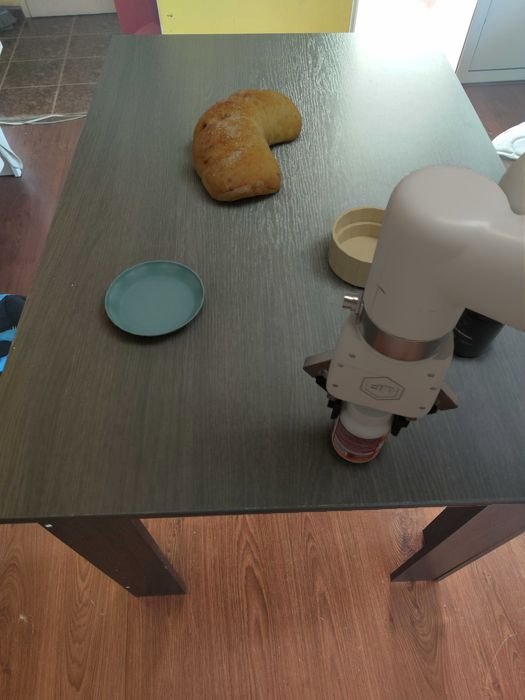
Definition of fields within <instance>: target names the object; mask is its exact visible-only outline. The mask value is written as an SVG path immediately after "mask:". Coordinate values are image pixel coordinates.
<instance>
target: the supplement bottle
mask: <svg viewBox="0 0 525 700" xmlns="http://www.w3.org/2000/svg"><path fill="white" fill-rule="evenodd" d="M505 326H506V325H505V324H503V323H501V322H498V321H496V320H494V319H491V318H489V317H487V316H484V315H482V314H480V313H477V312H475V311H473V310H470V309H468V308H465V309H464V311H463V313H462V315H461V316H460V318H459V320H458V322H457V324H456V326H455V327H454V329H453V336H454V339H453V341H454V350H453V354H456V355H459V356H462V357H468V358H470V357H471V358H472V357H478V356H480V355H482V354H484V353H485V352H487V350H488V349H489V348H490V346H491V345H492V343H493V342H494V341H495V340H496V338H497V337H498V335H499V334H500V333H501V331H502V330H503V328H504V327H505Z"/></svg>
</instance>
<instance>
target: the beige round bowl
mask: <svg viewBox="0 0 525 700" xmlns="http://www.w3.org/2000/svg"><path fill="white" fill-rule="evenodd" d="M385 211H386V207H382V206H381V207H380V206H375V205H374V206H373V205H371V206H368V205H367V206H363V205H362V206H358V207H353V208H350V209H348V210H346V211H344V212H342V213H340V214H339V215H338V217H337V218H336V219H335V220H334V221H333V224H332V227H331V232H330V237H329V243H328V244H329V245H328V251H327V259H328V265H329V267H330V268H331V270H332V272H334V274H336V276H338V277H339V278H340V279H341V280H342V281H344V282H346V283H348V284H351V285H353V286H355V287H358V288H359V287H360V288H364V289H365V286H366V282H367V278H368V275H369V271H370V267H371V264H372V260H373V256H374V252H375V249H376V245H377V241H378V237H379V233H380V230H381V226H382V222H383V218H384V215H385Z"/></svg>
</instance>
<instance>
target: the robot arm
mask: <svg viewBox="0 0 525 700" xmlns="http://www.w3.org/2000/svg"><path fill="white" fill-rule="evenodd" d="M385 208H386V211H385V215H384V218H383V222H382V226H381V230H380V233H379V237H378V241H377V245H376V249H375V252H374V256H373V260H372V264H371V267H370V271H369V275H368V278H367V282H366V286H365V288H364V290H360V291H359V292H356V291H355V292H354V293H352V292H349V291H345V293H344V298H343V301H342V305H341V308H343V309H347V310H349V311H350V313H349V314H348V316H347V318H346V320H345V321H344V323H343V325H342V327H341V330H340V332H339V335H338V337H337V340H336V343H335V346H334V349H330V350H327V351H323V352H320V353H317V354H314V355H310V356H307V357H305V359H304V362H303V366H302V370H303V371H304V372H305V373H306V374H307V375H308V376H309V377H311V378H312V379H315V381H314V382H315V384H316V385H318V386H319V387H320V388H321V389H322V390H324V391H325V393H326V398H327V399H328V401H327V404H326V408H328V409H332V411H331V415H330V418H329V419H330V420H334V421H336V419H337V417H338V413H339V410H340V407H341V403H342V400H345V401H348V402H351V403H355V404H359V405H363V406H366V407H370V408H374V409H378V410H381V411H385V412H389V413H393V414H395V418H394V423H393V425H392V427H391V429H390V435H391V436H393V437H396V438H397V437H398V436H399V434H400V432H401V430H402V428H404V429H407V428H408V426H409V425H410V423H411V422H416V421H417V420H418V419H419V418H423V417H425V416H427V415H435V414H437V412H438V411H440V412H442V411H450V410H455V409H456V410H457V409H458V407H459V397H460V396H459V394H458V393H457V392H456V391H455V390H454V389H453V388H452V387H451V386H450V385H449V384H448V383H447V381H445V380H446V377H447V374H448V372H449V369H450V366H451V362H452V360H453V355H454V352H453V350H454V341H453V339H454V336H453V329H454V327H455V326H456V324H457V322H458V320H459V318H460V316H461V315H462V313H463V311H464V309H465V308H468V309H470V310H473V311H475V312H477V313H480V314H482V315H484V316H487V317H489V318H491V319H494V320H496V321H498V322H501V323H503V324H505V326H507V327H509V328H513V329H514V330H516V331H517V330H518V331H519V332H523V333H525V151H524V152H522V154H521V155H520V156H519V157H518V158H517V159H515V161H514V162H513V163H511V165H509V167H508V168H507V170H506V171H505V172H504V173H503V174H502V175H501V178H500V180H499V182H498V183H496V181H494V180H492V179H491V178H490V177H488V176H487V175H485V174H483V173H481V172H479V171H477V170H475V169H472V168H468V167H465V166H460V165H455V164H434V165H429V166H427V165H426V166H423V167H420V168H417V169H415V170H412V171H411V172H410V173H408V174H407V175H405V176H404V177H403V178H401V179H400V181H398V183H397V184H396V185H395V186H394V188H393V190H392V191H391V194H390V196H389V198H388V201H387V205H386V207H385Z"/></svg>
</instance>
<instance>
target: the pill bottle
mask: <svg viewBox="0 0 525 700" xmlns="http://www.w3.org/2000/svg"><path fill="white" fill-rule="evenodd" d="M394 418H395V414H393V413H389V412H385V411H381V410H378V409H374V408H370V407H366V406H363V405H359V404H355V403H351V402H348V401H345V400H342V403H341V407H340V410H339V413H338V417H337V419H335V422H334V424H333V429H332V433H331V443H332V446H333V448H334V450H335V451H336V453H337V454H338V455H339V456H340V457H341V458H343V459H344V460H346V461H348V462H350V463H355V464H362V463H363V464H364V463H367V462H370V461H371V460H373V459H375V457H376V456H377V455H378V454H379V452H380V450H381V448H382V447H383V446H384V443H385V441H386V440H387V437H388V435H389V434H390V432H391V427H392V425H393V423H394Z"/></svg>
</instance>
